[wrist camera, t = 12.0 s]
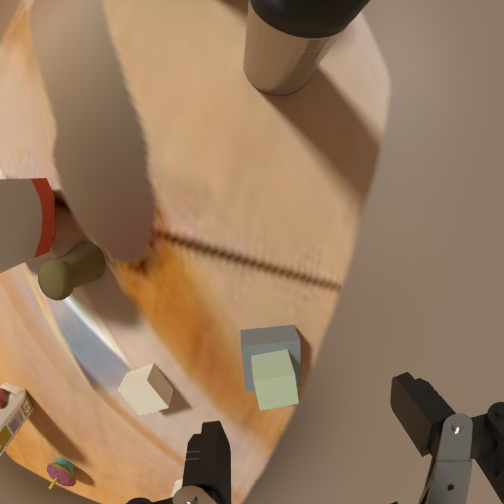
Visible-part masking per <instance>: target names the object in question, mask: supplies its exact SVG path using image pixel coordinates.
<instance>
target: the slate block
mask: <svg viewBox="0 0 504 504" xmlns="http://www.w3.org/2000/svg"><path fill="white" fill-rule="evenodd" d="M241 349H242V358H243V367H244V376H245V385H246V391H254V390H255V386H254V382H253V372H252V361H251V356H253V355H259V354H264V353H270V352H275V351H280V350H286V349H287V350H288V353H289V356H290V360H291V363H292V366H293V369H294V373H295V378H296V386H298V385H300V360H301V349H300V338H299V335H298V333H297V330H296V328H295V326H294V325H287V326H278V327H268V328H258V329H247V330H241Z"/></svg>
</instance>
